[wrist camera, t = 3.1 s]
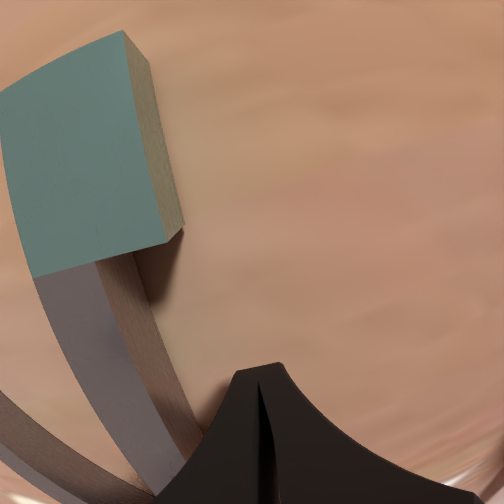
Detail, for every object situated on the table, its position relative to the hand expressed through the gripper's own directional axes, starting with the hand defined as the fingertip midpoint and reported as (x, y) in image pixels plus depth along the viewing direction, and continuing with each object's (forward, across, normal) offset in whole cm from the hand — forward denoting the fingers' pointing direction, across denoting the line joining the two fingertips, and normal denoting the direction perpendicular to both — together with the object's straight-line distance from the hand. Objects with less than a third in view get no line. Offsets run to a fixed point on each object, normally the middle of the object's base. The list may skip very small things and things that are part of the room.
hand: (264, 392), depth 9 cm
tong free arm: (+2, +3, 0) cm, 3 cm away
